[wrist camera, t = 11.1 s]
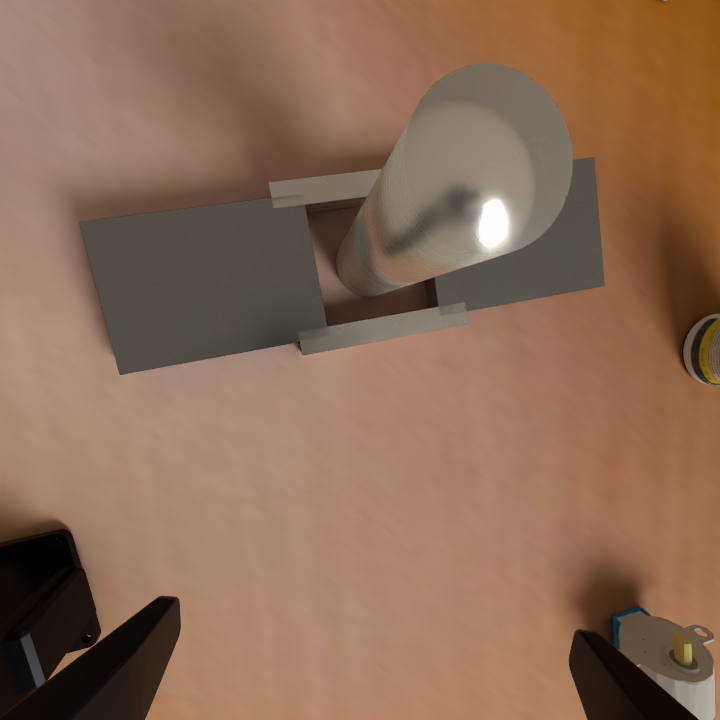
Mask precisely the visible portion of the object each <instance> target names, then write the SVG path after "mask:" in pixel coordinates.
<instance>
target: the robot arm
mask: <svg viewBox="0 0 720 720" xmlns="http://www.w3.org/2000/svg"><path fill="white" fill-rule="evenodd" d="M56 538H59V539H61V540H62V543H59V542H58V541H57V540H56ZM180 629H181V620H180V602H179V599H178V598H177V597H172V596H160V597H158V598H156V599H155V600H154V601H152V602H151V603H150V604H148V605H147V606H146V607H144V608H143V609H142V610H140V611H139V612H138V613H136V614H135V615H134V616H132V617H131V618H130V619H128V620H127V621H126V622H125V623H123V624H122V625H121V626H119V627H118V628H117V629H115V630H114V631H113V632H111V633H110V634H109V635H107V636H106V637H105V638H103V639H102V640H101V641H99V642H98V643H97V644H95V643H96V641H97V640H98V638H99V637H100V634H101V629H100V625H99V622H98V619H97V615H96V607H95V604H94V600H93V597H92V594H91V590H90V587H89V584H88V581H87V577H86V574H85V571H84V569H83V568H82V566H81V562H80V559H79V556H78V553H77V549H76V546H75V543H74V539H73V536H72V534H71V532H69V531H68V530H65V529H58V530H54V531H50V532H46V533H41V534H37V535H33V536H29V537H24V538H20V539H16V540H12V541H7V542H3V543H0V720H145V718H146V716H147V714H148V711H149V709H150V707H151V704H152V702H153V699H154V697H155V694H156V692H157V689H158V687H159V684H160V682H161V679H162V677H163V675H164V672H165V670H166V667H167V665H168V662H169V660H170V657H171V655H172V652H173V650H174V647H175V645H176V642H177V640H178V637H179V634H180ZM86 634H88V635H91V637H88V636H87V635H86ZM94 644H95V645H94ZM93 645H94V646H93ZM91 646H93V647H91ZM88 647H91V648H90V649H89V650H88V651H86V652H85V653H84V654H82V655H81V656H80V657H78V658H77V659H76V660H74V661H73V662H72V663H70V664H69V665H68V666H66V667H65V668H64V669H62V670H61V671H60V672H58V673H57V674H56V675H54V676H53V677H52V678H51V679H49V677H50V676H51V675H52V673H53V672H54V670H55V669H56V667H57V666H58V665H59V663H60V662H61V660H62V659H63V657H64V656H65V655H66V654H67V653H70V652H74V651H77V650H81V649H85V648H88ZM569 666H570V671H571V674H572V677H573V680H574V682H575V685H576V688H577V691H578V694H579V697H580V700H581V702H582V705H583V708H584V711H585V714H586V717H587V720H699V719H698V718H697V717H696V716H694V715H693V714H692V713H691V712H690V711H689V710H688V709H686V708H685V707H684V706H683V705H682V704H681V703H679V702H678V701H677V700H676V699H675V698H674V697H672V696H671V695H670V694H669V693H668V692H667V691H665V690H664V689H663V688H662V687H661V686H660V685H659V684H657V683H656V682H655V681H654V680H653V679H652V678H650V677H649V676H648V675H647V674H646V673H645V672H643V671H642V670H641V669H640V668H639V667H638V666H637V665H635V664H634V663H633V662H632V661H631V660H630V659H628V658H627V657H626V656H625V655H624V654H623V653H621V652H620V651H619V650H618V649H617V648H616V647H614V646H613V645H612V644H611V643H610V642H609V641H608V640H606V639H605V638H604V637H603V636H602V635H601V634H599V633H598V632H596V631H593V630H583V629H578V630H576V631H575V633H574V637H573V641H572V646H571V650H570V655H569ZM48 679H49V680H48ZM47 680H48V681H47ZM34 690H35V691H34Z"/></svg>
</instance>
